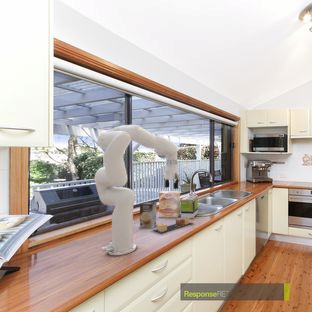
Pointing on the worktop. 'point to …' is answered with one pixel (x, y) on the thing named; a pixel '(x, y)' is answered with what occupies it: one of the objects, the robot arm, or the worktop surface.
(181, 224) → the letter S
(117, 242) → the robot arm
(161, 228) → the word mat
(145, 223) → the coffee box
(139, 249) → the worktop surface
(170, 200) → the coffeecake box
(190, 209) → the tea box
